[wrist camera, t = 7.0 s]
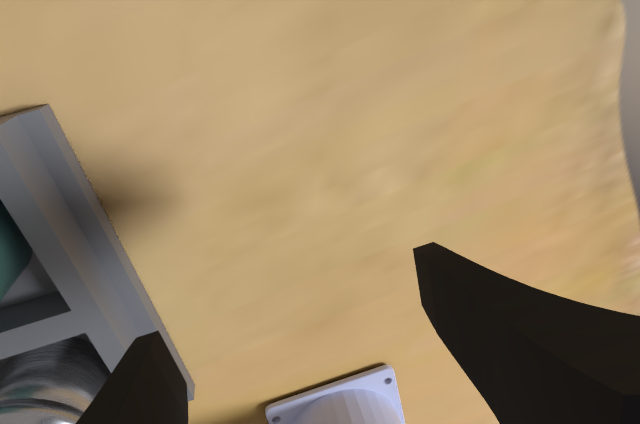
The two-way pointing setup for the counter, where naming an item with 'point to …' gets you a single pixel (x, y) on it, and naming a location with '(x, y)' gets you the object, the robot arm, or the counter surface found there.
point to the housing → (63, 282)
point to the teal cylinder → (11, 251)
